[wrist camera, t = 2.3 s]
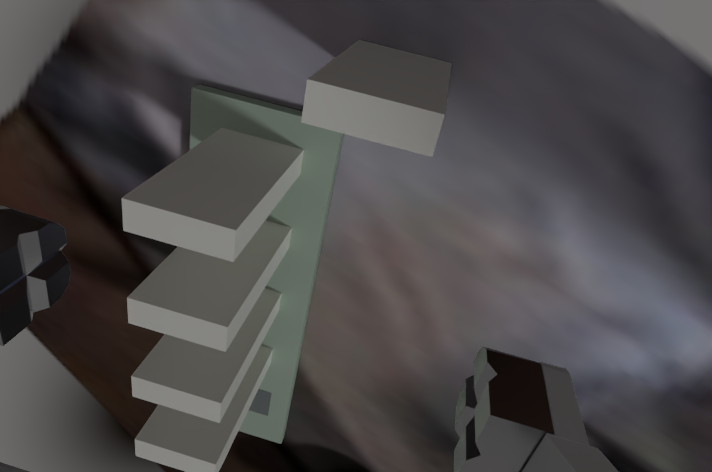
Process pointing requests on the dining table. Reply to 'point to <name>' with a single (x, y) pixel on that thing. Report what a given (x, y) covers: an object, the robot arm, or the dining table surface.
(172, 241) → the domino
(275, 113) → the domino board
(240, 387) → the domino
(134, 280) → the dining table surface
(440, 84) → the domino
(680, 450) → the dining table surface
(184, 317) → the domino
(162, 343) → the domino
